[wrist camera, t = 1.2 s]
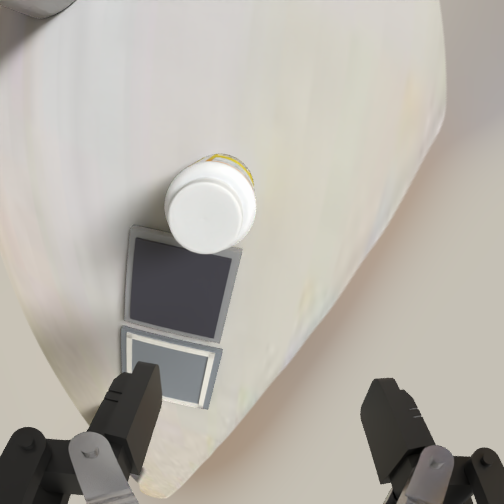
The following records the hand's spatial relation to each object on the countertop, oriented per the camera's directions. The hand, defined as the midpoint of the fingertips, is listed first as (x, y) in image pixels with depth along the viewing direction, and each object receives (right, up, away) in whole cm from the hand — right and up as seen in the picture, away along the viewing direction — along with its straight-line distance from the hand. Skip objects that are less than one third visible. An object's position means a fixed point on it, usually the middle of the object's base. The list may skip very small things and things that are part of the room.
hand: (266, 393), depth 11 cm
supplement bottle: (-3, +11, +15) cm, 19 cm away
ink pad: (-7, +2, +18) cm, 20 cm away
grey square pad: (-10, -8, +22) cm, 26 cm away
